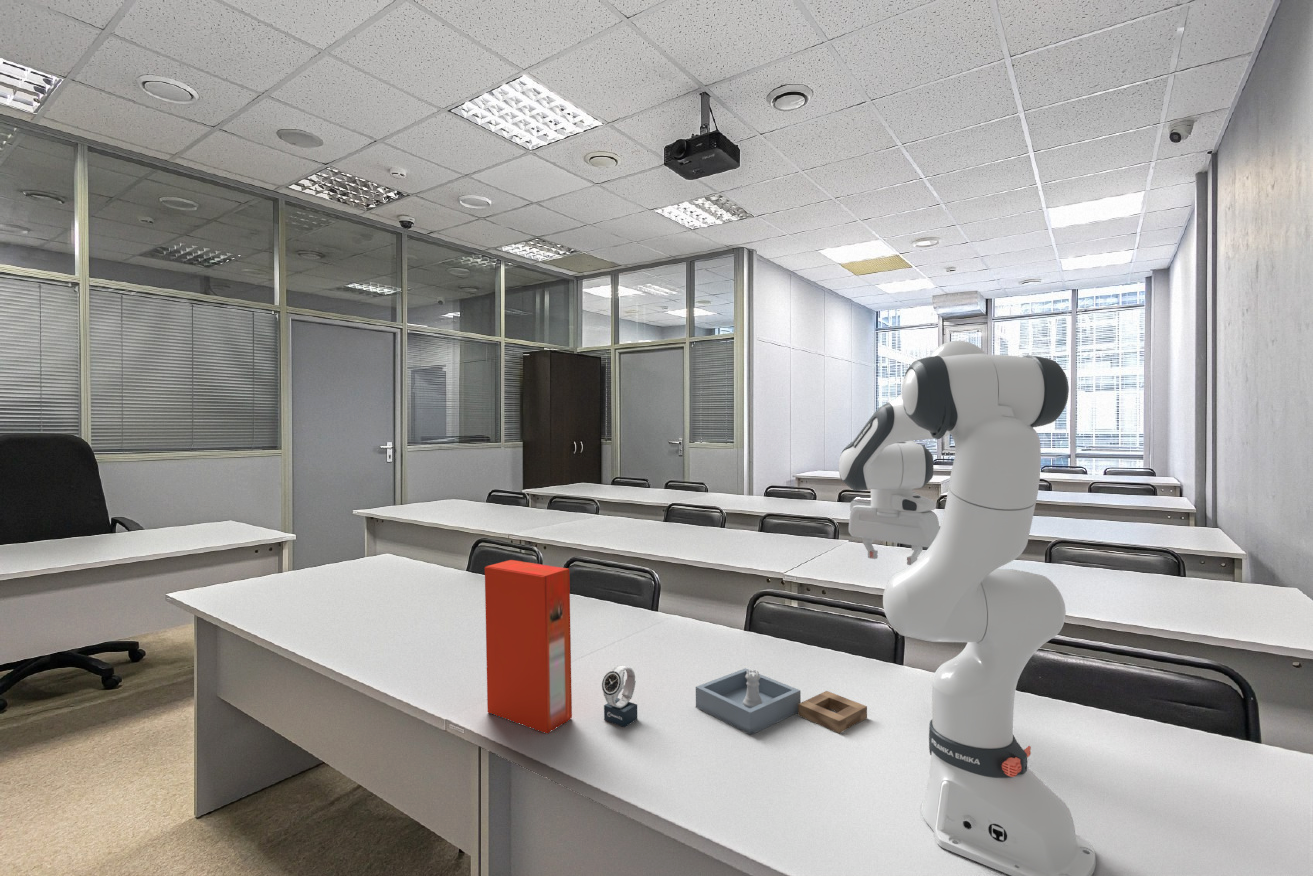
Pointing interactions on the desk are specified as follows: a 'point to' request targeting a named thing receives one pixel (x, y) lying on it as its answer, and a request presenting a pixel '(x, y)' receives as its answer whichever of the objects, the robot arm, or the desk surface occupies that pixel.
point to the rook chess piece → (752, 690)
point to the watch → (615, 707)
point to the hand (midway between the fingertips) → (891, 561)
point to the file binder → (528, 643)
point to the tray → (730, 692)
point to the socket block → (838, 722)
